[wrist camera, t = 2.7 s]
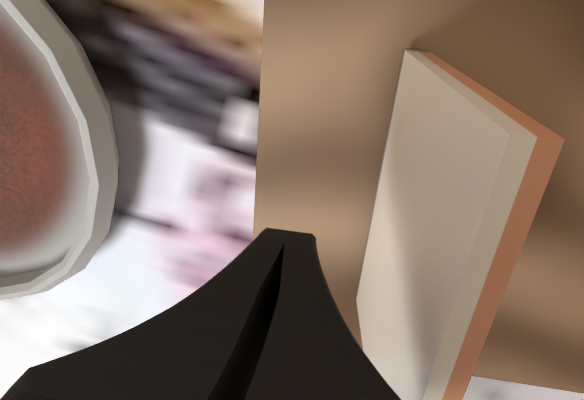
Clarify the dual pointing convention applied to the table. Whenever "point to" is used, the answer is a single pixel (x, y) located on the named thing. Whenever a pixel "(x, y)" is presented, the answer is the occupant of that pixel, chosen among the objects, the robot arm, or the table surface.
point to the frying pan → (50, 152)
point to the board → (372, 136)
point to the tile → (446, 225)
